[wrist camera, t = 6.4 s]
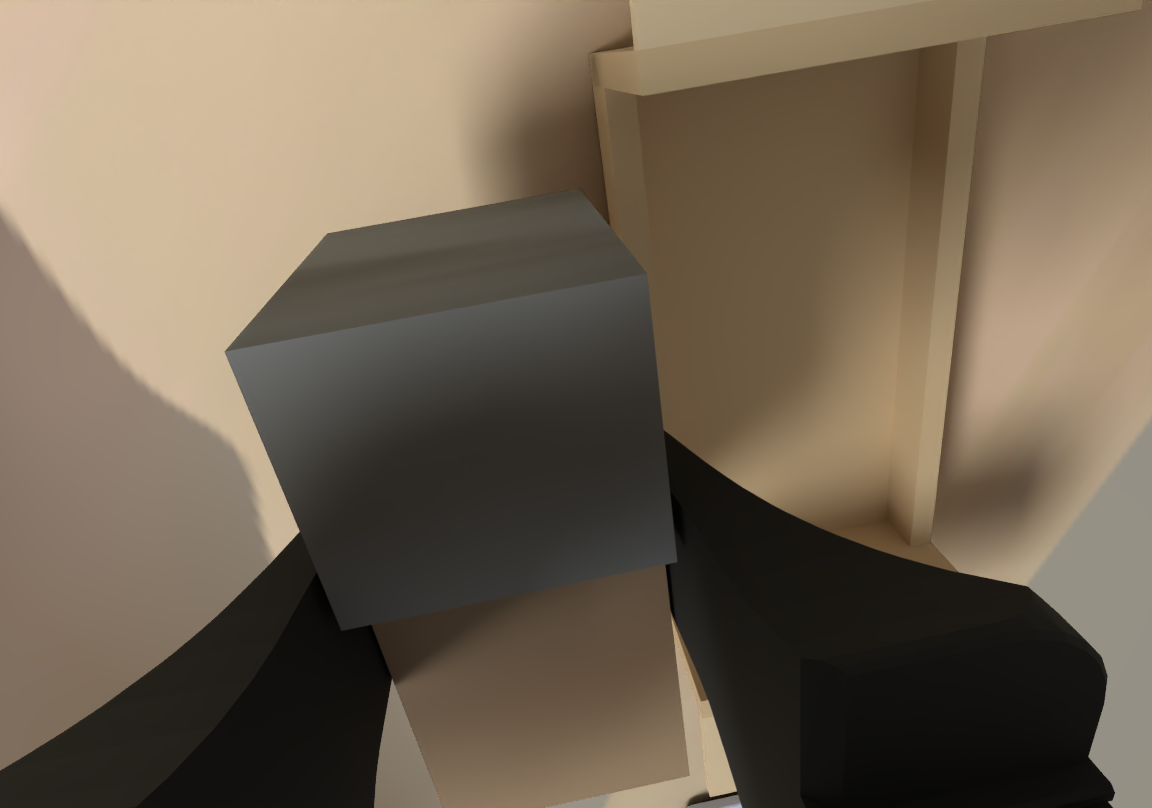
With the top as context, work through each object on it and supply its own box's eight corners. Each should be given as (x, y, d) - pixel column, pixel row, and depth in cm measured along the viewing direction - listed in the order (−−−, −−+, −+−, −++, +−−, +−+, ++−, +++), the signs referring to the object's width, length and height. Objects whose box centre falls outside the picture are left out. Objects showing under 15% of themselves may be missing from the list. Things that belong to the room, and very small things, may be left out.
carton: (894, 600, 22) (996, 733, 18) (663, 649, 22) (710, 797, 18) (960, -188, 13) (1204, -313, 9) (566, -125, 13) (612, -223, 8)
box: (639, 605, 17) (705, 828, 12) (457, 643, 17) (448, 886, 12) (579, 188, 12) (647, 273, 7) (327, 233, 12) (224, 352, 7)
